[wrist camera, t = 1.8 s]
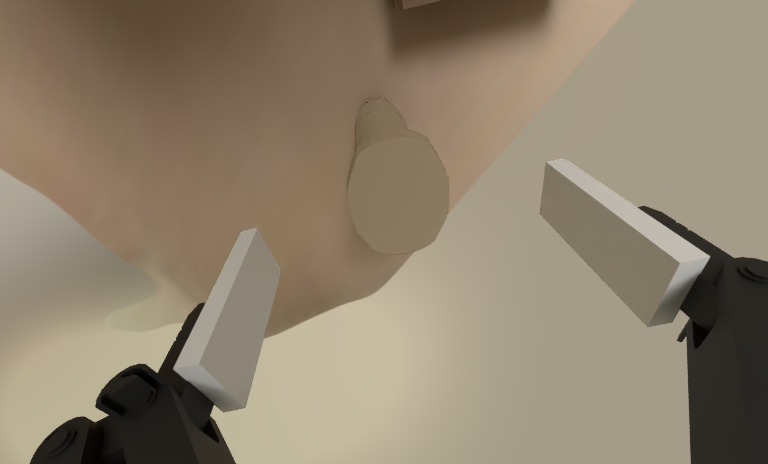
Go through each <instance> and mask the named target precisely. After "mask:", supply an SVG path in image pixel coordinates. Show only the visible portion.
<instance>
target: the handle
mask: <svg viewBox="0 0 768 464" xmlns="http://www.w3.org/2000/svg"><path fill="white" fill-rule="evenodd" d="M355 141H356V146H357V148H356V151H355V154H354V157H353V160H352V164H351V167H350V171H349V175H348V180H347V198H348V205H349V209H350V214H351V219H352V222H353V225H354V227H355V229H356V230H357V232H358V234H359V235H360V236H361V237H362V238H363V240H364V241H365V242H366V243H367V244H368V245H369V246H370V247H371V248H372V250H373V251H376V252H379V253H384V254H405V253H410V252H414V251H417V250H420V249H422V248H424V247H426V246H428V245H429V244H431V243H432V242H434V240H435V239H436V237H437V235H438V233H439V231H440V230H441V228H442V226H443V224H444V222H445V219H446V217H447V214H448V208H449V180H448V176H447V173H446V170H445V168H444V166H443V164H442V162H441V160H440V158H439V157H438V155H437V153H436V151H435V150H434V148H433V146H432V144H431V143H430V141H429V140H428V138H427V137H425V136H423V135H421V134H419V133H416V132H413V131H408V128H407V125H406V123H405V121H404V119H403V117H402V116H401V114H400V113H399V112H398V110H397V109H396V108H395V107H394V106H393V105H392V104H390V103H388V102H387V100H386V99H385V98H383V97H379V98H378V99H374V100H371V99H366V100H365V101H364V102H363V107H362V108H361V110H360V111H359V113H358V116H357V119H356V125H355Z"/></svg>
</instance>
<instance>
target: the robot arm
mask: <svg viewBox="0 0 768 464" xmlns="http://www.w3.org/2000/svg"><path fill="white" fill-rule="evenodd" d="M540 215H541V216H542V217H543V218H544V219H545V220H546V221H547V222H548V223H549V224H550V225H551V226H552V227H553V228H554V230H555V231H556V232H557V233H559V235H560V236H561V237H562V238H563V239H564V240H565V241H566V242H567V243H568V244H569V245H570V246H571V247H572V248H573V249H574V250H575V251H576V252H577V254H578V255H579V256H580V257H581V258H582V259H583V260H584V261H585V262H586V263H587V264H588V265H589V266H590V267H591V268H592V269H593V270H594V271H595V273H597V275H598V276H599V277H600V278H601V279H602V280H603V281H604V282H605V283H606V284H607V285H608V286H609V287H610V288H611V289H612V290H613V291H614V292H615V293H616V295H617V296H618V297H619V298H620V299H621V300H622V301H623V302H624V303H625V304H626V305H627V306H628V307H629V308H630V309H631V310H632V311H633V312H634V313H635V314H636V315H637V316H638V318H639V319H640V320H641V321H642V322H643V323H644V324H645V325H646V326H647V327H651V326H655V325H661V324H666V323H670V322H673V320H674V319H675V317H676V315H677V314H678V312H679V310H682V311H683V312H684V313H685V314H686V315H687V316H688V317H689V318H690V319H689V320H688V322H687V323H686V325H685V327H684V328H683V330H682V332H681V333H680V335H679V337H678V339H677V341H679V342H682V341H683V340H684V338H685V337H686V336H687V363H688V393H689V422H690V451H691V464H768V262H767V261H763V260H759V259H755V258H744V257H740V258H733V257H732V256H730V255H729V254H727V253H726V252H724V251H722V250H721V249H719V248H718V247H716V246H714V245H713V244H711V243H710V242H708V241H707V240H705V239H703V238H702V237H700V236H698V235H697V234H696V233H694V232H692V231H691V230H689V231H688V230H687V228H686V227H685V226H683V225H681V224H679V223H676V221H675V220H673V219H672V218H670V217H669V216H667V215H665V214H664V213H662V212H660V211H657V210H654V209H651V208H649V207H646V206H641V207H636V206H634V205H633V204H631V203H630V202H628V201H627V200H625V199H624V198H622V197H621V196H619V195H618V194H616V193H615V192H613V191H612V190H610V189H609V188H607V187H606V186H604V185H603V184H602V183H600V182H599V181H597V180H596V179H594V178H593V177H591V176H590V175H588V174H586V173H585V172H584V171H582V170H581V169H579V168H578V167H576V166H575V165H573V164H572V163H570V162H569V161H567V160H565V159H564V158H561V159H557V160H553V161H548V162H546V165H545V174H544V182H543V191H542V199H541V207H540ZM280 274H281V269H280V267H279V266H278V264H277V262H276V260H275V258H274V257H273V255H272V253H271V251H270V249H269V248H268V246H267V244H266V242H265V241H264V239H263V237H262V235H261V233H260V232H259V230H258V228H253V229H249V230H245V231H241V233H240V235H239V237H238V239H237V241H236V243H235V245H234V247H233V249H232V251H231V253H230V255H229V257H228V259H227V261H226V263H225V265H224V267H223V269H222V271H221V273H220V275H219V277H218V279H217V281H216V283H215V285H214V287H213V289H212V291H211V293H210V295H209V297H208V299H207V301H206V302H205V303H200V304H198V305H197V307H196V308H195V309H194V310H193V311H192V312H191V313H190V314H189V315H188V317H187V319H186V321H185V322H184V324H183V326H182V330H181V331H180V332H179V334H178V336H177V337H176V341H174V343H173V345H172V347H171V349H170V351H169V352H168V354H167V356H166V358H165V360H164V362H163V364H162V366H161V368H160V369H159V371H158V373H156V372H155V371H154V370H152V369H151V368H150V367H148V366H147V365H146V364H137V365H133V366H130V367H128V368H127V369H125V370H123V371H122V372H120V373H118V374H117V375H116V376H115V377H114V378H112V379H111V380H110V381H109V382H108V383H107V384H106V386H105V387H104V388H103V389H102V390H101V393H100V394H99V396H98V398H97V400H96V406H95V407H96V408H98V409H99V410H101V411H103V412H104V413H106V414H108V415H109V416H107V417H105V418H103V419H101V420H99V421H97V422H93V421H92V420H90V419H88V418H86V417H76V418H73V419H71V420H69V421H67V422H65V423H64V424H62V425H61V426H59V427H58V428H56V429H55V430H54V431H53V432H52V433H51V434H50V435H49V436H48V437H47V438H45V440H44V441H43V442H42V444H41V445H40V446H39V447H38V449H37V450H36V452H35V454H34V455H33V457H32V459H31V462H30V464H236V463H235V461H234V459H233V457H232V455H231V453H230V450H229V448H228V446H227V444H226V442H225V440H224V438H223V436H222V434H221V432H220V430H219V428H218V426H217V424H216V422H215V421H214V419H213V418H212V417H211V416H210V414H211V411H212V409H213V406H214V405H215V406H216V407H218V408H219V409H220V410H221V411H222V412H227V411H233V410H237V409H242V408H245V407H246V404H247V400H248V396H249V392H250V388H251V384H252V381H253V377H254V373H255V369H256V365H257V362H258V358H259V354H260V350H261V347H262V342H263V339H264V335H265V331H266V328H267V324H268V320H269V316H270V312H271V309H272V305H273V301H274V297H275V293H276V290H277V286H278V282H279V278H280Z"/></svg>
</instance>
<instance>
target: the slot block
mask: <svg viewBox="0 0 768 464" xmlns="http://www.w3.org/2000/svg"><path fill="white" fill-rule="evenodd" d="M437 1H441V0H394V3H395V10H405V9H409V8H413V7H417V6H421V5H425V4H429V3H433V2H437Z"/></svg>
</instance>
